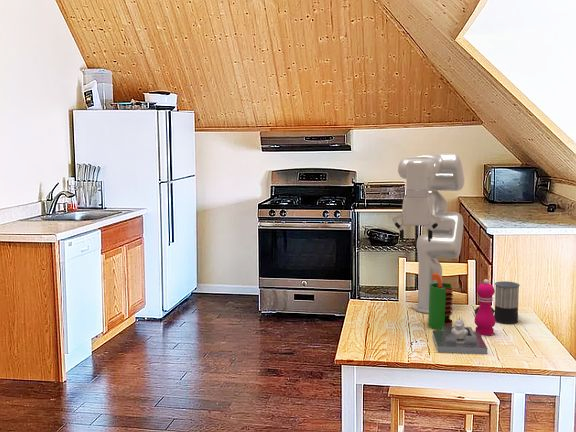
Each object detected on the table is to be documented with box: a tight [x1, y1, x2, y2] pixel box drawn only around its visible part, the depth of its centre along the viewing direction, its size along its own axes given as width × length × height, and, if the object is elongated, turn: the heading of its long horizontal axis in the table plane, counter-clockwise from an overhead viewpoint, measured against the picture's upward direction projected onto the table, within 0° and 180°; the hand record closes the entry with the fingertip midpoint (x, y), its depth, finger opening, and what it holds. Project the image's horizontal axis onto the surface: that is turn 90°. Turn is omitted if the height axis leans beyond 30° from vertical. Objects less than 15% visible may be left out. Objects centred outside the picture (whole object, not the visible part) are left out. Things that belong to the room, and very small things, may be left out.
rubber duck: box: [451, 316, 468, 340], centre depth 217 cm, size 5×7×8 cm
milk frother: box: [474, 280, 520, 325], centre depth 247 cm, size 14×16×15 cm
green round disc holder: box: [427, 273, 454, 330], centre depth 238 cm, size 10×9×20 cm
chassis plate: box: [432, 325, 488, 355], centre depth 217 cm, size 18×16×4 cm
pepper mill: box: [474, 278, 496, 337], centre depth 229 cm, size 7×7×20 cm
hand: (415, 240), depth 231 cm, fingers open, 9 cm apart
